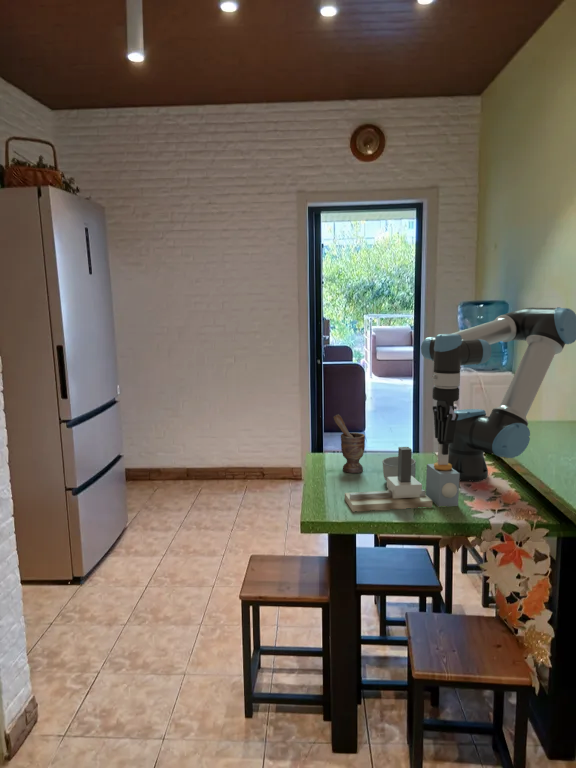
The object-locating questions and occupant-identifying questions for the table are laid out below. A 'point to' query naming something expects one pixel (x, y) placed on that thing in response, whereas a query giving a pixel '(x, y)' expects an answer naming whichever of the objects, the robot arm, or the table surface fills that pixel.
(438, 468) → the button
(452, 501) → the blue-grey button box
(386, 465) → the teacup
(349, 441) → the mortar and pestle
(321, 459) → the table surface
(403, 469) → the carriage
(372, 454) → the table surface
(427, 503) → the rail board
